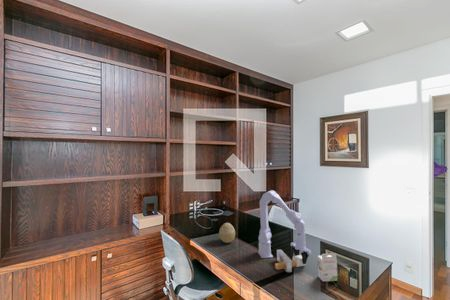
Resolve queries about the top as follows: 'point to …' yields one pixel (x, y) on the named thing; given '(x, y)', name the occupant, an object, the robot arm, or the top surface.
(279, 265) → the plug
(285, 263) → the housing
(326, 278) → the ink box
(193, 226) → the top surface
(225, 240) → the fossilized egg
